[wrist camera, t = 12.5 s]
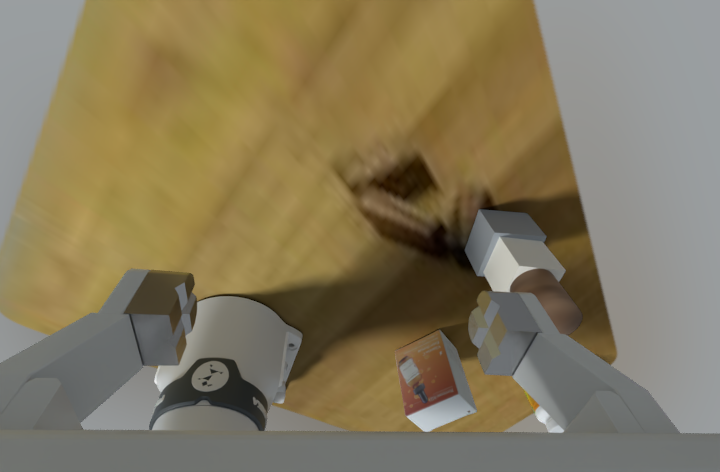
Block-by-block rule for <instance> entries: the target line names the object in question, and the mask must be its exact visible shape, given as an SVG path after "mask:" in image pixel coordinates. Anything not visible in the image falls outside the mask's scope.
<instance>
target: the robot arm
mask: <svg viewBox="0 0 720 472" xmlns="http://www.w3.org/2000/svg"><path fill="white" fill-rule="evenodd" d="M194 285H195V283H194V277H193V275H192V274H191V273H184V272H172V271H160V270H143V269H130V270H128V271H127V272H126V273H125V274H124V276H123V277H122V279H121V280H120V282H119V283H118V285H117V286H116V287H115V289H114V290H113V292H112V293H111V295H110V296H109V298H108V299H107V301H106V302H105V303H104V305H103V306H102V308H101V309H100V311H99V312H98V313H90V314H88V315H87V316H85V317H83V318H81V319H79V320H78V321H76V322H74V323H72V324H70V325H68V326H67V327H65V328H63V329H61V330H59V331H58V332H56V333H54V334H52V335H50V336H48V337H47V338H45V339H43V340H41V341H40V342H38V343H36V344H34V345H32V346H30V347H29V348H27V349H25V350H23V351H21V352H20V353H18V354H16V355H14V356H12V357H10V358H9V359H7V360H5V361H3V362H1V363H0V472H720V434H699V433H695V434H694V433H692V434H691V433H683V434H682V433H680V432H679V431H678V429H677V428H676V427H675V425H674V424H673V423H672V422H671V420H670V419H669V418H668V416H667V415H666V414H665V413H664V411H663V410H662V409H661V407H660V406H659V405H658V403H657V402H656V401H655V400H654V398H653V397H652V396H651V394H650V393H649V392H648V391H647V390H646V389H644V388H643V387H641V386H640V385H638V384H637V383H636V382H634V381H633V380H631V379H630V378H628V377H627V376H625V375H624V374H622V373H621V372H620V371H618V370H617V369H615V368H614V367H612V366H611V365H609V364H608V363H607V362H605V361H604V360H602V359H601V358H599V357H598V356H596V355H595V354H593V353H592V352H591V351H589V350H588V349H586V348H585V347H583V346H582V345H580V344H579V343H577V342H576V341H575V340H573V339H572V338H570V337H569V336H567V335H566V334H560V333H559V331H558V330H557V328H556V326H555V325H554V323H553V322H552V320H551V319H550V317H549V316H548V314H547V313H546V311H545V310H544V308H543V307H542V305H541V304H540V302H539V301H538V299H537V297H536V296H535V295H534V294H532V293H526V292H499V291H482V292H481V293H480V294H479V296H478V298H477V300H476V301H477V303H478V305H479V306H478V307H477V308H476V309H474V310H473V311H472V312H471V315H470V317H469V323H468V330H469V336H470V338H471V341H472V343H473V344H474V345H475V346H477V347H478V348H479V351H478V354H477V356H478V359H479V361H480V364H481V366H482V369H483V371H484V374H488V375H506V376H513V378H514V380H515V381H516V382H517V383H518V384H519V385H520V386H521V387H522V388H523V389H524V390H525V391H526V392H527V393H528V394H529V395H530V396H531V397H532V398H533V399H534V400H535V401H536V402H537V403H538V404H539V405H540V406H541V407H542V408H543V409H544V410H545V411H546V412H547V413H548V414H549V415H550V417H551V418H552V419H553V420H554V421H555V422H556V423H557V424H558V425H559V426H560V427H561V428H562V429H563V430H564V432H563V433H535V432H533V433H532V432H531V433H530V432H360V431H346V432H345V431H264V430H265V428H266V423H267V413H268V411H269V409H270V407H271V405H272V402H274V403H281V404H282V403H283V402H284V398H285V392H286V387H285V383H286V381H287V378H288V376H289V373H290V371H291V368H292V365H293V363H294V360H295V358H296V355H297V352H298V350H299V347H300V345H301V342H302V337H303V335H302V333H301V332H300V331H298V330H297V329H295V328H293V327H291V326H289V325H287V324H285V323H284V322H283V321H282V320H281V318H280V317H279V316H278V315H277V314H276V313H275V312H274V311H272V310H271V309H270V308H268V307H266V306H265V305H263V304H261V303H258V302H256V301H253V300H250V299H246V298H241V297H233V296H220V297H213V298H208V299H205V300H202V301H199V302H197V298H196V296H195V295H194V294H193V293H192V290H193V288H194ZM143 366H159V367H158V370H157V373H156V376H155V383H156V384H157V387H158V389H159V390H160V392H161V395H160V397H159V400H158V401H157V403H156V405H155V407H154V410H153V413H152V419H151V422H150V426H149V429H150V430H83V428H82V426H81V424H80V423H81V422H82V421H83V420H84V419H85V418H86V417H87V416H89V415H90V414H91V413H92V412H93V411H94V410H95V409H97V408H98V407H99V406H100V405H101V404H102V403H103V402H105V401H106V400H107V399H108V398H109V397H110V396H111V395H112V394H113V393H114V392H116V391H117V390H118V389H119V388H120V387H122V385H124V384H125V383H126V382H127V381H128V380H130V379H131V378H132V377H133V376H134V375H135V374H136V373H137V372H139V371H140V370H141V369H142V368H143Z"/></svg>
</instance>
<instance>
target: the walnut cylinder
mask: <svg viewBox="0 0 720 472" xmlns="http://www.w3.org/2000/svg"><path fill="white" fill-rule="evenodd" d="M510 292H526V293H532V294H534V295H535V296H536V297H537V299H538V301H539V302H540V304H541V305H542V307H543V308H544V310H545V311H546V313H547V314H548V316H549V317H550V319H551V320H552V322H553V323H554V325H555V326H556V328H557V330H558V331H559V333H560V334H566V335H569V334H571V333H572V332H573V331H575V330H576V329H577V328H578V326H579V325H580V324H581V321H582V317H583V316H582V312H581V311H580V310H579V308H578V307H577V306H576V304H575V303H574V302H573V300H572V299H571V298H570V296H569V295H568V294H567V292H566V291H565V290H564V288H563V287H562V286H561V284H560V283H559V282H558V280H557V279H556V278H555V276H554V275H553V274H552V273H551V272H550V271H548V270H546V269H532V270H529V271H526V272H524V273H522V274H521V275H519V276H518V277H517V278H516V279H515V280H514V281H513V282H512V284H511V286H510Z"/></svg>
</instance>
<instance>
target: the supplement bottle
mask: <svg viewBox="0 0 720 472" xmlns="http://www.w3.org/2000/svg"><path fill="white" fill-rule="evenodd" d="M523 390H524V389H523ZM524 392H525V394H526V396H527V398H528V401H529V403H530V405H531V407H532V409H533V411H534V413H535V415H536V417H537V419H538V420H539V421H540V422H542V423H544V424H546V427H547V430H548V431H549V433H563V432H564V430H563V429H562V428H561V427H560V426H559V425H558V424H557V423H556V422H555V421H554V420H553V419H552V418H551V417H550V415H549V414H548V413H547V412H546V411H545V410H544V409H543V408H542V407H541V406H540V405H539V404H538V403H537V402H536V401H535V400H534V399H533V398H532V397H531V396H530V395H529V394H528V393H527V392H526V391H525V390H524Z"/></svg>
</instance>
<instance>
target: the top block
mask: <svg viewBox="0 0 720 472" xmlns="http://www.w3.org/2000/svg"><path fill="white" fill-rule="evenodd" d="M532 269H546V270H548V271H550V272H551V273H552V274H553V275H554V276H555V278H556V279H557V280H558V282H559V281H560V280H561V278H562V276H563V275H564V273H565V271H566V270H565V269H564V268H563V266H562V265H561V264H560V263H559V261H558V260H557V259H556V258H555V256H554V255H553V254H552V253H551V252H550V250H549V249H548V248H547V247H546V245H545V244H544V243H543V242H542V241H535V240H526V239H517V238H509V237H499V239H498V241H497V243H496V246H495V248H494V250H493V252H492V254H491V256H490V259H489V261H488V263H487V265H486V267H485V270H484V272H483V273H484V275H485V277H486V279H487V281H488V283H489V284H490V286H491V288H492V290H493V291H499V292H510V286H511V284H512V282H513V281H514V280H515V279H516V278H517V277H518V276H519V275H521V274H522V273H524V272H526V271H529V270H532Z"/></svg>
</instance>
